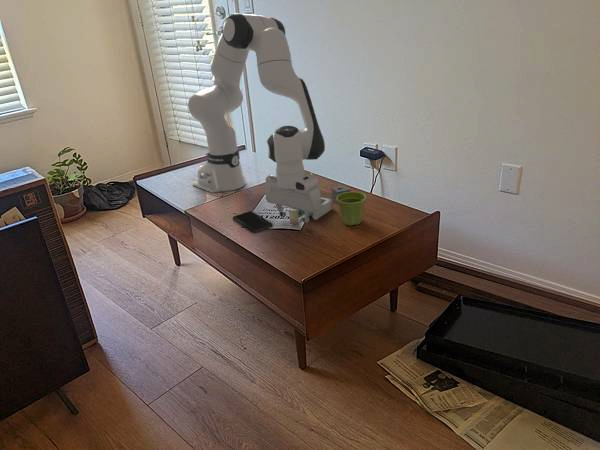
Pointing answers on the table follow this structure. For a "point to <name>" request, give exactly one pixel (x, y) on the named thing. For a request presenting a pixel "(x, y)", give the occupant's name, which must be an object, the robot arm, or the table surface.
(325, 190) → the table surface
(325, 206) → the rail lane
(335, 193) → the grey cube with symbols
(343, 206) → the plant pot
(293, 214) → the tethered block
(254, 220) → the phone
